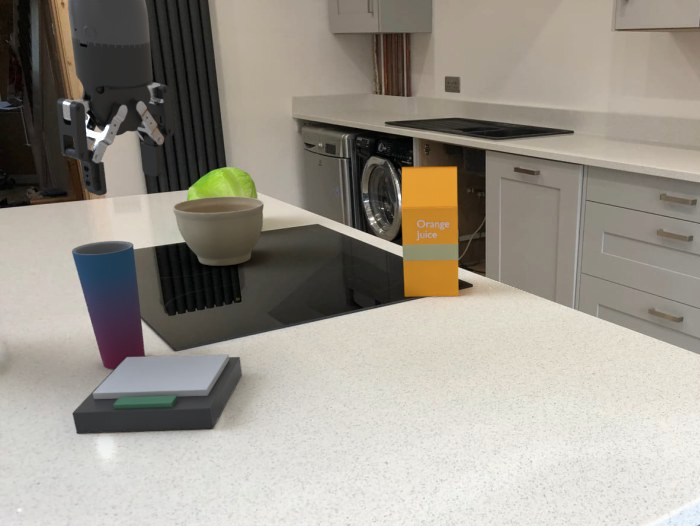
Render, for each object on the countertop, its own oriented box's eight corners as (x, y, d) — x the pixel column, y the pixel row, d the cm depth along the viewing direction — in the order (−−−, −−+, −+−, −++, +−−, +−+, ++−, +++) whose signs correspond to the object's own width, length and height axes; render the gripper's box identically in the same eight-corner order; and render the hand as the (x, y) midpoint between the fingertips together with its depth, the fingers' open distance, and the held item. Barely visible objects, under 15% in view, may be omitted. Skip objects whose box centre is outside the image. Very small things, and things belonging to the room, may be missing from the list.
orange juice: (458, 296, 118) (457, 170, 111) (404, 297, 118) (399, 170, 111) (458, 282, 125) (457, 162, 118) (406, 282, 125) (402, 163, 118)
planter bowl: (197, 277, 130) (188, 216, 126) (170, 258, 142) (161, 202, 138) (282, 262, 139) (276, 204, 135) (250, 246, 151) (244, 192, 147)
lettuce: (208, 242, 154) (200, 176, 149) (181, 225, 170) (172, 166, 165) (278, 232, 162) (271, 170, 158) (246, 217, 178) (239, 160, 173)
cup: (88, 360, 94) (65, 247, 89) (142, 347, 99) (123, 238, 93) (104, 377, 90) (80, 257, 84) (160, 362, 94) (141, 247, 88)
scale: (76, 433, 76) (70, 405, 75) (125, 378, 89) (121, 353, 88) (212, 428, 77) (208, 401, 76) (242, 374, 90) (239, 350, 89)
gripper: (132, 23, 83) (144, 162, 92) (25, 33, 72) (49, 191, 80) (186, 35, 81) (193, 176, 90) (84, 47, 70) (103, 208, 78)
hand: (125, 183), depth 85 cm, fingers open, 8 cm apart
